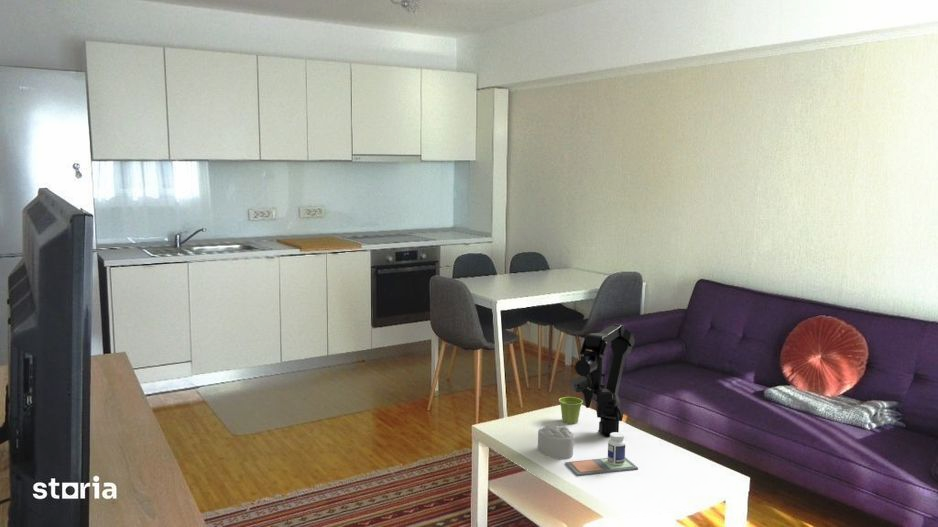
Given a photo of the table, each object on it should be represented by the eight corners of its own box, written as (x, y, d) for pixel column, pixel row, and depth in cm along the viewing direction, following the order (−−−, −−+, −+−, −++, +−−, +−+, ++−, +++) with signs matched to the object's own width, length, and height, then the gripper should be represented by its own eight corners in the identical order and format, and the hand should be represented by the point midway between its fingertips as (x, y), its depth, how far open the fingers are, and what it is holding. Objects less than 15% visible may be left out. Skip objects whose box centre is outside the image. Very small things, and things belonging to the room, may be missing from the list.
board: (623, 457, 248) (623, 455, 248) (638, 469, 238) (638, 467, 238) (565, 463, 242) (565, 461, 242) (577, 476, 232) (577, 473, 232)
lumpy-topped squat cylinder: (556, 443, 260) (556, 420, 259) (580, 455, 249) (581, 431, 248) (533, 449, 254) (534, 425, 253) (557, 462, 244) (558, 437, 242)
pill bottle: (625, 460, 243) (626, 432, 242) (623, 467, 238) (624, 438, 237) (608, 458, 245) (609, 430, 244) (606, 464, 240) (607, 436, 238)
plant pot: (557, 416, 288) (558, 396, 287) (581, 418, 287) (582, 397, 286) (558, 425, 279) (559, 403, 278) (582, 426, 278) (583, 404, 277)
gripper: (563, 364, 260) (561, 405, 262) (584, 378, 243) (583, 422, 245) (591, 362, 263) (589, 403, 265) (614, 376, 246) (612, 420, 248)
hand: (592, 411), depth 256 cm, fingers open, 9 cm apart
